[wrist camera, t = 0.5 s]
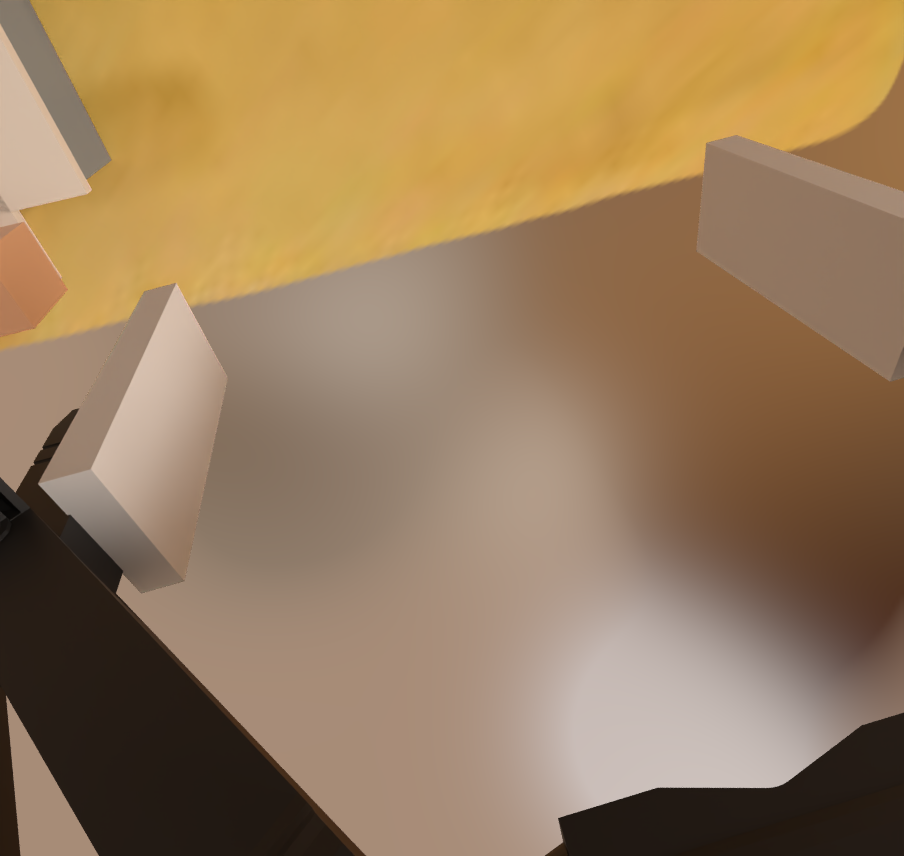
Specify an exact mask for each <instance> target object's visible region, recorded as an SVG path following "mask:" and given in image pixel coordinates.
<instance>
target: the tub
mask: <svg viewBox="0 0 904 856" xmlns="http://www.w3.org/2000/svg"><path fill="white" fill-rule="evenodd" d="M0 24H1V26H2V28H3V30H4V32H5V33H6V35H7V37H8V39H9V41H10V42H11V44H12V46H13V48H14V50H15V51H16V53H17V55H18V57H19V59H20V60H21V62H22V64H23V66H24V68H25V70H26V71H27V73H28V75H29V77H30V79H31V80H32V82H33V84H34V86H35V88H36V89H37V91H38V93H39V95H40V97H41V98H42V100H43V102H44V104H45V106H46V108H47V109H48V111H49V113H50V115H51V117H52V118H53V120H54V122H55V124H56V126H57V127H58V129H59V131H60V133H61V135H62V136H63V138H64V140H65V142H66V144H67V146H68V147H69V149H70V151H71V153H72V155H73V156H74V158H75V160H76V162H77V164H78V165H79V167H80V169H81V171H82V173H83V174H84V176H85V178H86V180H87V179H88V178H89V177H90V176H92V175H93V174H94V173H96V172H97V171H98V170H99V169H101V168H102V167H103V166H105V165H106V164H107V163H109V162H110V161H111V158H110V156H109V154H108V152H107V150H106V148H105V146H104V145H103V143H102V141H101V139H100V137H99V135H98V133H97V131H96V129H95V127H94V125H93V123H92V121H91V119H90V117H89V115H88V114H87V112H86V110H85V108H84V106H83V104H82V102H81V100H80V98H79V96H78V94H77V92H76V90H75V88H74V86H73V84H72V82H71V81H70V79H69V77H68V75H67V73H66V71H65V69H64V67H63V65H62V63H61V61H60V59H59V57H58V55H57V53H56V51H55V49H54V48H53V46H52V44H51V42H50V40H49V38H48V36H47V34H46V32H45V30H44V28H43V26H42V24H41V22H40V20H39V18H38V16H37V15H36V13H35V11H34V9H33V7H32V5H31V3H30V1H29V0H0Z"/></svg>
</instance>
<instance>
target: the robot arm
mask: <svg viewBox="0 0 904 856" xmlns="http://www.w3.org/2000/svg"><path fill="white" fill-rule="evenodd" d="M696 251H697V252H698V253H700V254H702V255H703V256H705V257H706V258H707V259H709V260H710V261H712V262H713V263H715V264H716V265H718V266H719V267H721V268H722V269H724V270H725V271H727V272H728V273H730V274H731V275H733V276H734V277H736V278H737V279H739V280H740V281H742V282H743V283H744V284H746V285H747V286H749V287H750V288H752V289H753V290H755V291H756V292H758V293H759V294H761V295H762V296H764V297H765V298H767V299H768V300H770V301H771V302H773V303H774V304H776V305H777V306H779V307H780V308H782V309H783V310H785V311H786V312H788V313H789V314H791V315H792V316H793V317H795V318H796V319H798V320H799V321H801V322H802V323H804V324H805V325H807V326H808V327H810V328H811V329H813V330H814V331H816V332H817V333H819V334H820V335H822V336H823V337H825V338H826V339H828V340H829V341H831V342H832V343H834V344H835V345H837V346H838V347H840V348H841V349H842V350H844V351H846V352H847V353H848V354H850V355H851V356H853V357H855V358H856V359H857V360H859V361H860V362H862V363H863V364H865V365H866V366H868V367H869V368H871V369H872V370H874V371H875V372H877V373H878V374H880V375H881V376H883V377H884V378H886V379H887V380H889V381H894V380H897V379H901V378H904V192H903V191H900V190H897V189H894V188H891V187H888V186H885V185H882V184H879V183H876V182H873V181H870V180H867V179H864V178H861V177H858V176H855V175H852V174H850V173H847V172H844V171H841V170H838V169H835V168H832V167H829V166H826V165H823V164H820V163H817V162H814V161H811V160H808V159H805V158H802V157H799V156H796V155H793V154H790V153H787V152H785V151H782V150H779V149H776V148H773V147H770V146H767V145H764V144H761V143H758V142H755V141H752V140H749V139H746V138H743V137H740V136H737V135H735V136H731V137H727V138H724V139H720V140H716V141H712V142H709V143H706V153H705V164H704V175H703V186H702V196H701V207H700V219H699V229H698V239H697V250H696ZM227 380H228V378H227V376H226V374H225V372H224V370H223V368H222V366H221V365H220V363H219V361H218V359H217V357H216V355H215V353H214V352H213V350H212V348H211V346H210V345H209V342H208V341H207V339H206V337H205V335H204V333H203V331H202V329H201V328H200V326H199V324H198V322H197V320H196V318H195V317H194V315H193V313H192V311H191V309H190V307H189V305H188V304H187V302H186V300H185V298H184V296H183V294H182V293H181V291H180V289H179V287H178V285H177V283H174V284H171V285H167V286H163V287H159V288H155V289H152V290H148V291H144V293H143V295H142V296H141V298H140V300H139V302H138V304H137V305H136V307H135V309H134V311H133V313H132V315H131V316H130V318H129V320H128V322H127V324H126V325H125V327H124V329H123V331H122V333H121V335H120V336H119V338H118V340H117V342H116V344H115V345H114V347H113V349H112V351H111V353H110V354H109V356H108V358H107V360H106V362H105V363H104V365H103V367H102V369H101V371H100V372H99V374H98V376H97V378H96V380H95V381H94V383H93V385H92V387H91V389H90V390H89V392H88V394H87V396H86V398H85V400H84V401H83V403H82V405H81V407H80V408H79V409H75V410H72V411H71V412H70V413H69V414H68V415H67V416H66V417H65V418H64V419H63V420H62V421H61V422H60V423H59V424H58V425H57V426H55V427H54V428H53V430H52V431H51V433H50V435H49V437H48V438H47V440H46V442H45V443H44V445H43V450H41V451H40V452H39V454H38V455H37V457H36V459H35V460H34V464H35V465H33V466H31V467H30V469H29V471H28V472H27V474H26V476H25V478H24V479H23V481H22V483H21V484H20V486H19V488H18V489H17V491H16V493H15V492H14V491H13V490H12V489H11V488H10V487H9V486H8V485H7V484H6V483H5V482H4V481H3V480H2V479H1V478H0V856H20V847H19V835H18V824H17V813H16V802H15V791H14V781H13V769H12V759H11V747H10V736H9V726H8V714H7V703H6V696H7V697H8V699H9V700H10V703H11V704H12V706H13V708H14V709H15V711H16V713H17V715H18V716H19V718H20V720H21V722H22V723H23V725H24V727H25V728H26V730H27V732H28V734H29V735H30V737H31V739H32V740H33V742H34V744H35V746H36V748H37V749H38V751H39V753H40V755H41V756H42V758H43V760H44V761H45V763H46V765H47V766H48V768H49V770H50V772H51V774H52V775H53V777H54V779H55V781H56V782H57V784H58V786H59V788H60V789H61V791H62V793H63V794H64V796H65V798H66V800H67V801H68V803H69V805H70V807H71V808H72V810H73V812H74V814H75V815H76V817H77V819H78V820H79V822H80V824H81V826H82V827H83V829H84V831H85V833H86V834H87V836H88V838H89V839H90V841H91V843H92V845H93V846H94V848H95V850H96V851H97V853H98V855H99V856H366V855H365V854H364V853H363V852H362V851H361V850H360V849H359V848H358V847H357V846H356V845H355V844H354V843H353V842H352V841H351V840H350V839H349V838H348V837H347V835H346V834H344V832H343V831H342V830H341V829H340V828H339V827H338V826H337V825H336V824H335V823H334V822H333V821H332V820H331V819H330V818H329V817H328V816H327V814H325V812H324V811H323V810H322V809H321V808H320V807H319V806H318V805H317V804H316V803H315V802H314V801H313V800H312V799H311V798H310V797H309V796H308V795H307V793H306V792H305V791H304V790H303V789H302V788H301V787H300V786H299V785H298V784H297V783H296V782H295V781H294V780H293V779H292V778H291V777H290V776H289V775H288V774H287V772H286V771H285V770H284V769H283V768H282V767H281V766H280V765H279V764H278V763H277V762H276V761H275V760H274V759H273V758H272V757H271V756H270V755H269V754H268V753H267V752H266V751H265V749H264V748H263V747H262V746H261V745H260V744H259V743H258V742H257V741H256V740H255V739H254V738H253V737H252V736H251V735H250V734H249V733H248V732H247V730H246V729H245V728H244V727H243V726H242V725H241V724H240V723H239V722H238V721H237V720H236V719H235V718H234V717H233V716H232V715H231V714H230V713H229V712H228V710H227V709H226V708H225V707H224V706H223V705H222V704H221V703H220V702H219V701H218V700H217V699H216V698H215V697H214V696H213V695H212V694H211V693H210V692H209V691H208V689H206V687H205V686H204V685H203V684H202V683H201V682H200V681H199V680H198V679H197V678H196V677H195V676H194V675H193V674H192V673H191V672H190V671H189V670H188V668H186V667H185V665H184V664H183V663H182V662H181V661H180V660H179V659H178V658H177V657H176V656H175V655H174V654H173V653H172V652H171V651H170V650H169V649H168V647H167V646H166V645H165V644H164V643H163V642H162V641H161V640H160V639H159V638H158V637H157V636H156V635H155V634H154V633H153V632H152V631H151V630H150V629H149V628H148V626H147V625H146V624H145V623H144V622H143V621H142V620H141V619H140V618H139V617H138V616H137V615H136V614H135V613H134V612H133V611H132V610H131V609H130V608H129V607H128V606H127V604H126V603H125V602H124V601H123V600H122V599H121V598H120V597H119V596H118V595H117V594H116V591H117V588H118V585H119V582H120V579H121V576H122V573H123V575H124V576H125V577H126V578H127V579H128V580H129V581H130V582H131V583H132V584H133V585H134V586H135V587H136V588H137V589H138V590H139V592H140V593H145V592H148V591H152V590H155V589H158V588H162V587H166V586H169V585H173V584H176V583H180V582H183V581H185V576H186V571H187V567H188V562H189V558H190V553H191V548H192V543H193V539H194V534H195V530H196V525H197V520H198V515H199V511H200V506H201V501H202V496H203V492H204V487H205V483H206V478H207V473H208V469H209V464H210V459H211V454H212V450H213V445H214V440H215V436H216V431H217V426H218V422H219V417H220V412H221V408H222V403H223V398H224V393H225V389H226V384H227ZM558 820H559V824H560V829H561V834H562V838H563V843H562V844H560V845H559V846H558V847H556V848H555V849H553V850H552V851H551V852H549V853H548V854H547V855H545V856H904V713H901V714H898V715H895V716H891V717H888V718H885V719H882V720H878V721H875V722H872V723H868V724H865V725H862V726H860V727H859V728H858V729H856V730H855V731H854V732H853V733H851V734H850V735H849V736H847V737H846V738H845V739H843V740H842V741H841V742H839V743H838V744H837V745H835V746H834V747H833V748H831V749H830V750H829V751H827V752H826V753H825V754H824V755H822V756H821V757H820V758H818V759H817V760H816V761H814V762H813V763H812V764H810V765H809V766H808V767H806V768H805V769H804V770H803V771H801V772H800V773H799V774H797V775H796V776H795V777H793V778H792V779H791V780H789V781H788V782H786V783H785V784H783V785H780V786H778V787H773V788H655V789H652V790H649V791H645V792H642V793H639V794H636V795H632V796H629V797H626V798H623V799H619V800H616V801H613V802H609V803H607V804H603V805H600V806H596V807H593V808H590V809H586V810H583V811H580V812H577V813H573V814H570V815H567V816H564V817H561V818H558Z"/></svg>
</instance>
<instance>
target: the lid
mask: <svg viewBox="0 0 904 856" xmlns="http://www.w3.org/2000/svg"><path fill="white" fill-rule="evenodd" d="M91 190H92V189H91V187H90V185H89V184H88V182H87V180H86V178H85V176H84V174H83V173H82V171H81V169H80V167H79V165H78V164H77V162H76V160H75V158H74V156H73V155H72V153H71V151H70V149H69V147H68V146H67V144H66V142H65V140H64V138H63V136H62V135H61V133H60V131H59V129H58V127H57V126H56V124H55V122H54V120H53V118H52V117H51V115H50V113H49V111H48V109H47V108H46V106H45V104H44V102H43V100H42V98H41V97H40V95H39V93H38V91H37V89H36V88H35V86H34V84H33V82H32V80H31V79H30V77H29V75H28V73H27V71H26V70H25V68H24V66H23V64H22V62H21V60H20V59H19V57H18V55H17V53H16V51H15V50H14V48H13V46H12V44H11V42H10V41H9V39H8V37H7V35H6V33H5V32H4V30H3V28H2V26H1V24H0V337H1V336H5V335H9V334H14V333H18V332H22V331H26V330H30V329H34V328H35V327H36V326H37V325H38V324H39V323H40V322H41V320H42V319H43V318H44V317H45V316H46V315H47V313H48V312H49V311H50V310H51V309H52V308H53V306H54V305H55V304H56V303H57V302H58V301H59V299H60V298H61V297H62V296H63V295H64V294H65V292H66V291H67V290H68V289H67V288H66V286H65V285H64V283H63V281H62V280H61V279H62V276H61V275H60V273H59V272H58V270H57V269H56V267H55V266H54V264H53V262H52V261H51V259H50V258H49V256H48V255H47V253H46V252H45V250H44V249H43V247H42V245H41V244H40V242H39V241H38V239H37V238H36V236H35V235H34V233H33V231H32V230H31V228H30V227H29V225H28V224H27V222H26V221H25V219H24V218H23V216H22V214H21V213H20V211H19V210H21V209H25V208H30V207H34V206H38V205H42V204H47V203H51V202H55V201H59V200H64V199H68V198H72V197H76V196H80V195H85V194H88V193H89V192H90V191H91Z"/></svg>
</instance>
